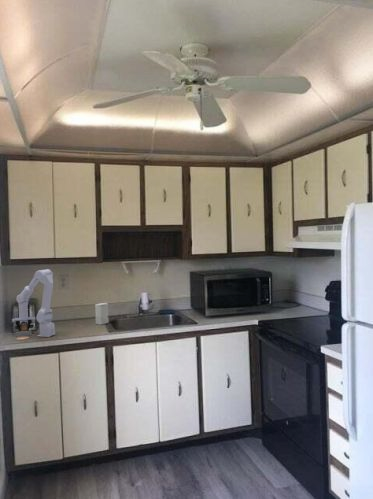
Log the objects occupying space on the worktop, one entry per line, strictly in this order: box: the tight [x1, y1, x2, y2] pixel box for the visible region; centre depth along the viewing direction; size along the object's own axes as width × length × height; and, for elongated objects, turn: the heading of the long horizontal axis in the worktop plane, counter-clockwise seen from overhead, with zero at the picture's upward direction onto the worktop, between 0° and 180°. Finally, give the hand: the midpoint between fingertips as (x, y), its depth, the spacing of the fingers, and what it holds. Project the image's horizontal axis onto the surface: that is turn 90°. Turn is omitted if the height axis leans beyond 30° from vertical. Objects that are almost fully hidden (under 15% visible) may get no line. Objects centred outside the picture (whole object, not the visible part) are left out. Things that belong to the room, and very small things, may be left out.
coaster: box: [15, 335, 30, 341], centre depth 265 cm, size 8×8×1 cm
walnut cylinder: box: [20, 323, 28, 331], centre depth 278 cm, size 5×5×6 cm
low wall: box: [14, 330, 32, 338], centre depth 271 cm, size 10×1×3 cm, turn 108°
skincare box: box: [94, 302, 109, 325], centre depth 303 cm, size 8×6×15 cm
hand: (24, 331), depth 278 cm, fingers closed on walnut cylinder, 5 cm apart
